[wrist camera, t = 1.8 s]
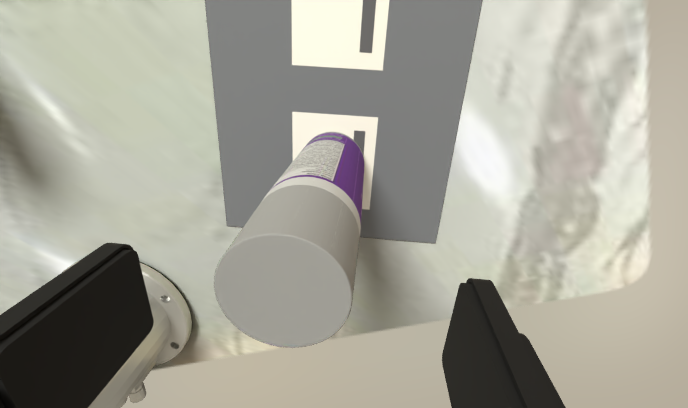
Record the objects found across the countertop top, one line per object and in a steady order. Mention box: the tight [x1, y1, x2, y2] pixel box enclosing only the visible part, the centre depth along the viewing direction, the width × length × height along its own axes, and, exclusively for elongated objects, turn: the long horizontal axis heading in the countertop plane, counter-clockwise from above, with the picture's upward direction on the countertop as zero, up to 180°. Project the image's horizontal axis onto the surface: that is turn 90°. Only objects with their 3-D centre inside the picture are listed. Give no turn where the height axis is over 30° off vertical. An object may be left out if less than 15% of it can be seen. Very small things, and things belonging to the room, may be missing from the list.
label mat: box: [205, 0, 482, 243], centre depth 22 cm, size 22×17×1 cm
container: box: [214, 132, 364, 348], centre depth 17 cm, size 5×5×15 cm
